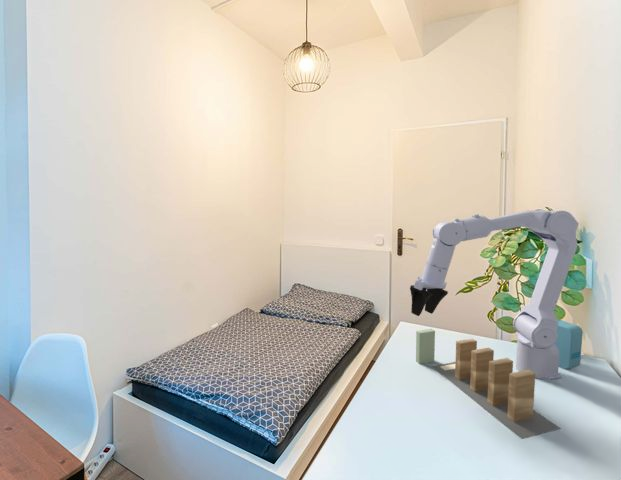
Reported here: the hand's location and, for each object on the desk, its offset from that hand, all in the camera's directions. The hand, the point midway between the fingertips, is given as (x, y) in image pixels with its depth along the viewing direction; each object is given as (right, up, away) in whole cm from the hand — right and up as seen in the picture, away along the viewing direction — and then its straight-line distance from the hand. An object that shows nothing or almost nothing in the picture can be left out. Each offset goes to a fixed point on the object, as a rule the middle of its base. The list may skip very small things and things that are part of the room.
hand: (422, 313), depth 88 cm
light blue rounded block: (+40, -15, +6) cm, 43 cm away
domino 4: (+14, -18, -19) cm, 30 cm away
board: (+12, -18, -9) cm, 24 cm away
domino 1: (+10, -16, -3) cm, 19 cm away
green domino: (+3, -16, +6) cm, 18 cm away
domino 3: (+13, -17, -13) cm, 26 cm away
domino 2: (+12, -17, -8) cm, 22 cm away
